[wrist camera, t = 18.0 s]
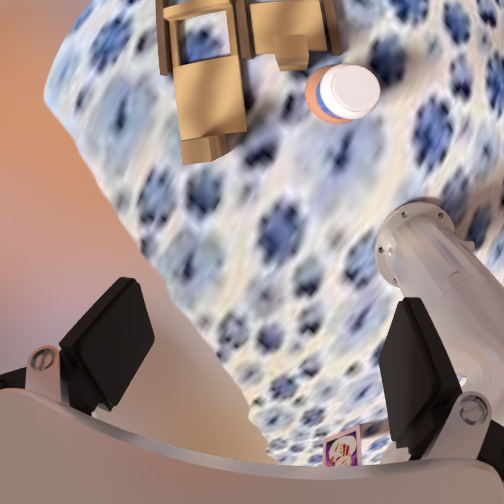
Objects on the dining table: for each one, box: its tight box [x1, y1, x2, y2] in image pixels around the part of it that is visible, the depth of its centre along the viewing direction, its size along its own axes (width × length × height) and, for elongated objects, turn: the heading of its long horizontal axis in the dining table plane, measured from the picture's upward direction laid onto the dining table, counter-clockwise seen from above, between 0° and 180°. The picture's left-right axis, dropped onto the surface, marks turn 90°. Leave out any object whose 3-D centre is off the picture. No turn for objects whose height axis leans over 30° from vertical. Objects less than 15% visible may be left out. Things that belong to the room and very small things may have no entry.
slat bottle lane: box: [163, 0, 247, 165], centre depth 25 cm, size 8×20×7 cm, turn 6°
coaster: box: [305, 66, 354, 124], centre depth 27 cm, size 7×7×1 cm
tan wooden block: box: [249, 0, 327, 71], centre depth 21 cm, size 8×9×7 cm
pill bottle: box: [315, 64, 380, 119], centre depth 22 cm, size 6×5×10 cm
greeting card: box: [322, 424, 362, 467], centre depth 50 cm, size 11×7×15 cm, turn 141°
